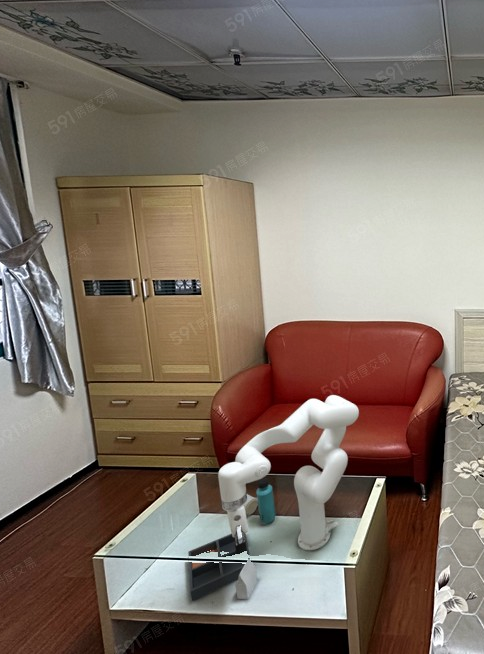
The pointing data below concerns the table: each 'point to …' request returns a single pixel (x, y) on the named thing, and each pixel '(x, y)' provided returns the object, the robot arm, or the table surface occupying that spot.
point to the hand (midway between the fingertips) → (239, 541)
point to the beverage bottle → (265, 501)
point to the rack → (214, 567)
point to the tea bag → (246, 580)
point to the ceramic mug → (250, 505)
